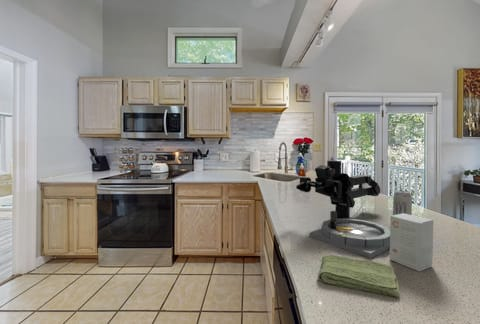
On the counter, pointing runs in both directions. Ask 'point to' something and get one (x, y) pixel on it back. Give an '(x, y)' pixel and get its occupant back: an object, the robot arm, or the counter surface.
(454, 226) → the counter surface
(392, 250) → the small box
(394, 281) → the washcloth
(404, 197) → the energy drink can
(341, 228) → the dial
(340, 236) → the grey round platform
